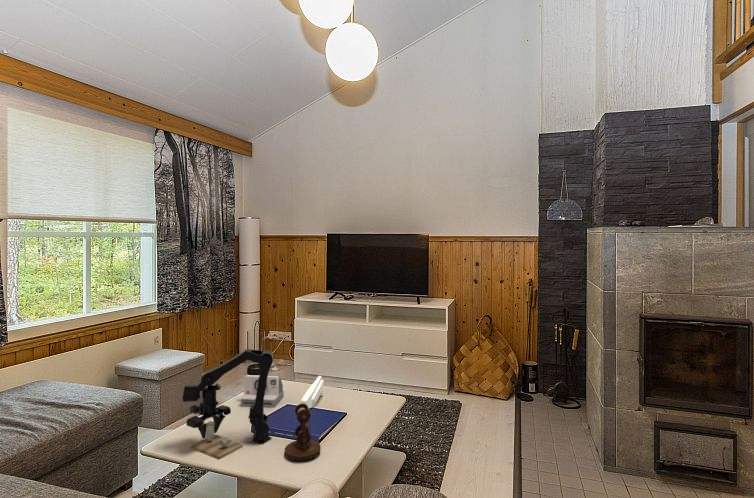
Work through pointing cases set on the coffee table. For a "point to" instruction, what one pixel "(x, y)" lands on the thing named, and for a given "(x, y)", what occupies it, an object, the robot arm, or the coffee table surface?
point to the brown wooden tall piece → (302, 437)
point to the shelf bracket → (313, 393)
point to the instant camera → (272, 391)
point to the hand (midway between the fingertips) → (209, 435)
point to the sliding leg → (209, 430)
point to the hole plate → (217, 446)
